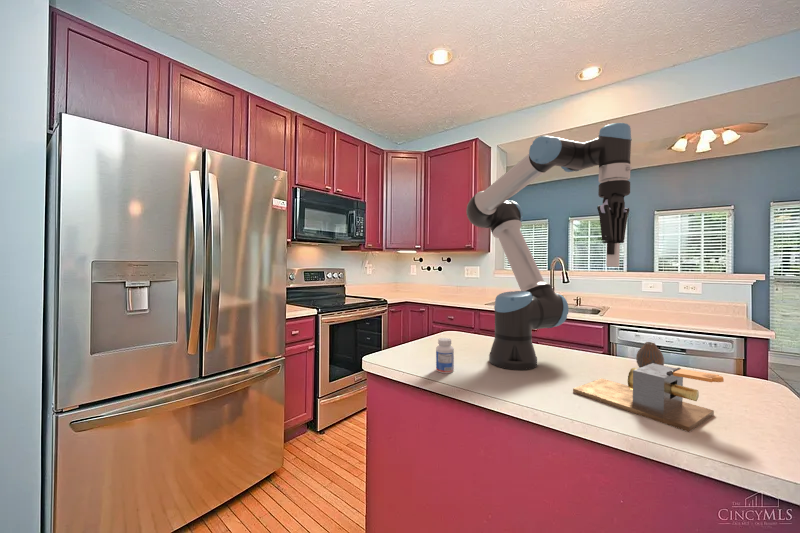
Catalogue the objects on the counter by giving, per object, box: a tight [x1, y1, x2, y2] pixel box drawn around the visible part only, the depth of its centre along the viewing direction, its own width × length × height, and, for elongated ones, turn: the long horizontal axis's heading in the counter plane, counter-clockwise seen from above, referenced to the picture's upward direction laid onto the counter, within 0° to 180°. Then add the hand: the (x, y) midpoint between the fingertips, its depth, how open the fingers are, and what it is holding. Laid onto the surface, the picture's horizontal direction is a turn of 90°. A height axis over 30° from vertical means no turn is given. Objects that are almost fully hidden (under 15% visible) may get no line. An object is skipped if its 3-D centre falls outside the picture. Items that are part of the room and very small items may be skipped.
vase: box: [635, 341, 665, 368], centre depth 105 cm, size 7×7×9 cm
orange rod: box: [673, 368, 724, 383], centre depth 72 cm, size 8×4×1 cm, turn 32°
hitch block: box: [572, 363, 715, 433], centre depth 82 cm, size 24×14×10 cm, turn 32°
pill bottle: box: [435, 337, 455, 374], centre depth 106 cm, size 6×5×10 cm
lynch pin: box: [627, 367, 700, 402], centre depth 78 cm, size 12×5×5 cm, turn 32°
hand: (612, 266), depth 96 cm, fingers closed
